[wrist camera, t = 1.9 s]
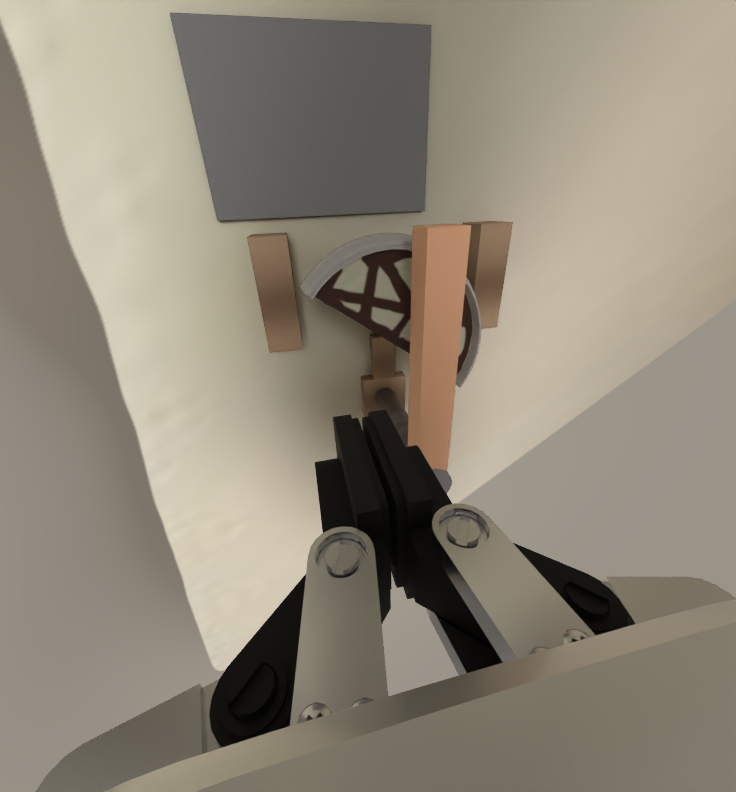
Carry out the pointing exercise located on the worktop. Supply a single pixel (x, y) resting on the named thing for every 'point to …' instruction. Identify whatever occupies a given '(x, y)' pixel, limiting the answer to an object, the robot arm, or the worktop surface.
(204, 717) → the robot arm
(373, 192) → the mat
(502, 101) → the worktop surface
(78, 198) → the worktop surface
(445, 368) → the tall wooden post
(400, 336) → the food container
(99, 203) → the worktop surface
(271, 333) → the wooden blocks
